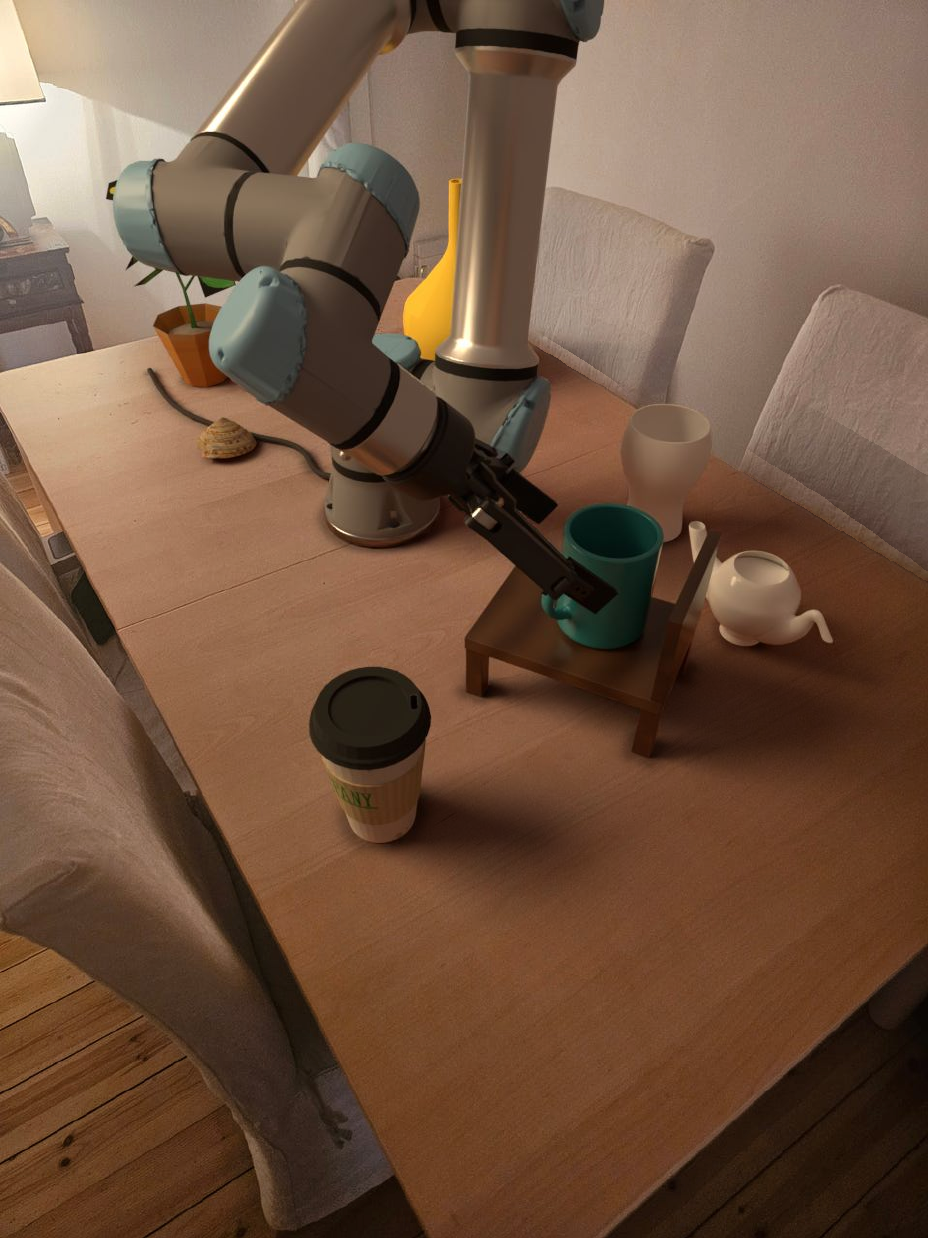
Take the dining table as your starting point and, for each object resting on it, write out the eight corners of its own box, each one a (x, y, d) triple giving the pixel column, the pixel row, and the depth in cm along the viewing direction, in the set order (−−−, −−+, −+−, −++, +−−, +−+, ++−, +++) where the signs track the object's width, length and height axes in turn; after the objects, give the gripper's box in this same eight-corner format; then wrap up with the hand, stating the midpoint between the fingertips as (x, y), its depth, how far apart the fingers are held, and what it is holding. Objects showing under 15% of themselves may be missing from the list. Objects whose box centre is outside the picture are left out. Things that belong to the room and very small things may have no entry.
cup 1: (513, 622, 82) (517, 531, 75) (606, 580, 87) (620, 491, 79) (567, 678, 76) (578, 586, 69) (665, 630, 81) (685, 540, 73)
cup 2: (692, 555, 103) (717, 450, 93) (607, 545, 104) (622, 440, 94) (692, 507, 110) (715, 405, 100) (613, 498, 112) (627, 397, 102)
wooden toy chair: (464, 692, 86) (463, 557, 74) (517, 611, 95) (524, 480, 83) (649, 759, 79) (682, 624, 67) (687, 666, 89) (722, 531, 76)
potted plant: (126, 384, 137) (67, 189, 117) (211, 344, 148) (170, 159, 128) (200, 414, 129) (149, 211, 109) (283, 370, 141) (252, 177, 120)
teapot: (783, 704, 84) (808, 639, 78) (648, 598, 97) (660, 535, 90) (843, 666, 88) (871, 602, 82) (705, 569, 101) (721, 507, 94)
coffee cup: (330, 773, 78) (309, 664, 68) (432, 766, 79) (427, 656, 69) (326, 865, 71) (301, 759, 61) (439, 857, 72) (433, 750, 62)
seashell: (181, 447, 118) (206, 404, 121) (198, 470, 123) (222, 428, 126) (230, 458, 116) (254, 413, 119) (245, 481, 121) (268, 438, 124)
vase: (515, 399, 133) (523, 200, 112) (402, 399, 133) (390, 200, 113) (511, 349, 146) (518, 163, 126) (409, 349, 146) (399, 163, 126)
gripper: (344, 397, 72) (501, 508, 85) (416, 569, 54) (600, 675, 68) (399, 330, 69) (552, 455, 83) (494, 488, 52) (668, 614, 65)
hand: (574, 554), depth 75 cm, fingers open, 13 cm apart
